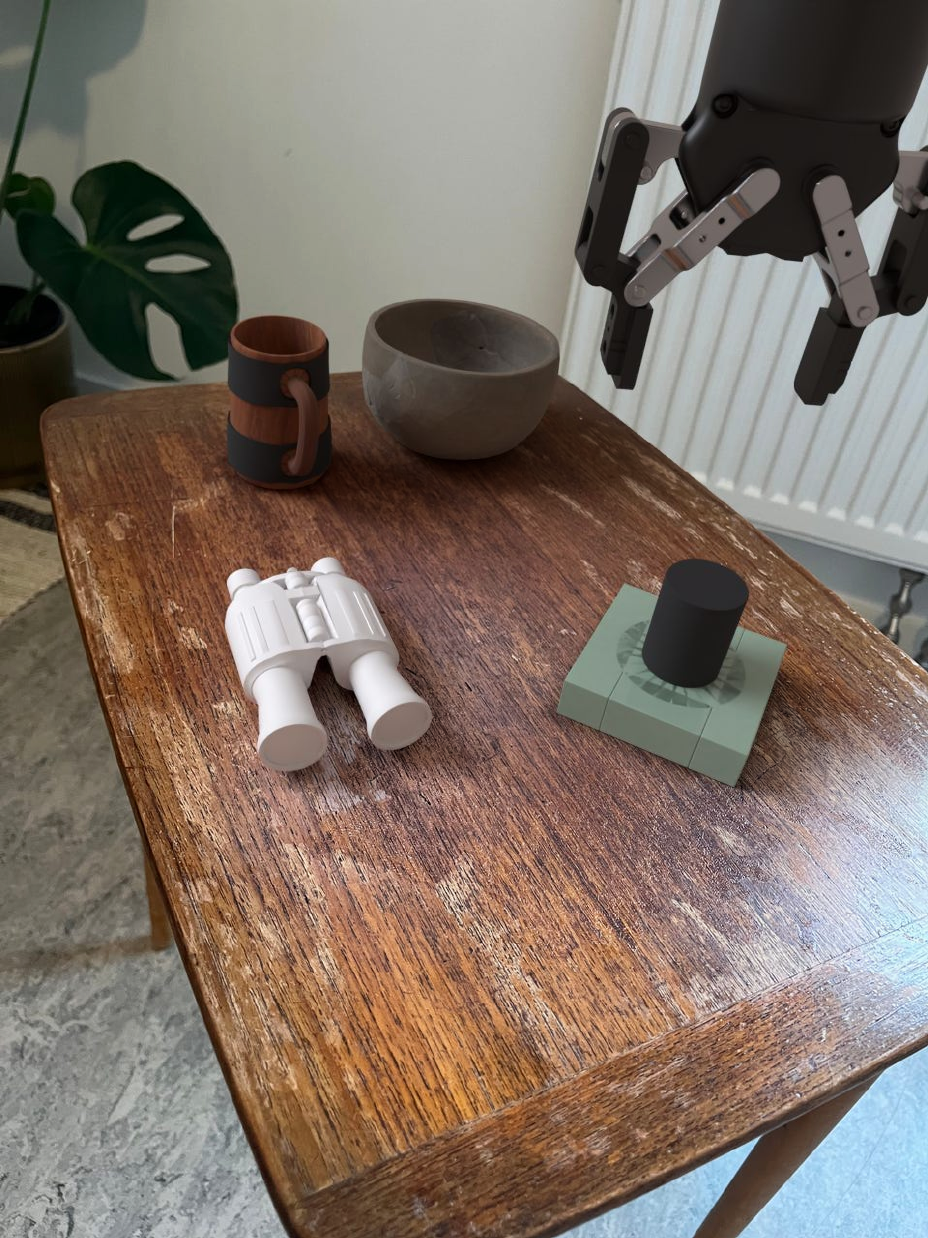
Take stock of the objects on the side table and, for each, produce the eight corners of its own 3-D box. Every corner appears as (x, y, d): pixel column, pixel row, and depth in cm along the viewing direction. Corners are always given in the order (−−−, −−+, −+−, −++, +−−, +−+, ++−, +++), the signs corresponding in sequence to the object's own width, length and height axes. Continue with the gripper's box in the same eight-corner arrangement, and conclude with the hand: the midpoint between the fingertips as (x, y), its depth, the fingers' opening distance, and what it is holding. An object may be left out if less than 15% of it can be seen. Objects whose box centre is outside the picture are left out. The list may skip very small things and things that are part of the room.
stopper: (716, 682, 66) (757, 576, 61) (696, 728, 63) (738, 621, 57) (645, 654, 68) (678, 548, 62) (621, 698, 64) (655, 590, 58)
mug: (258, 523, 75) (254, 386, 67) (215, 447, 83) (208, 316, 75) (361, 505, 78) (368, 373, 71) (310, 433, 86) (312, 307, 79)
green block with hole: (773, 675, 68) (787, 644, 66) (734, 788, 60) (748, 755, 58) (615, 614, 71) (624, 582, 70) (556, 713, 63) (564, 679, 61)
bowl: (470, 376, 99) (482, 280, 92) (583, 459, 89) (605, 357, 82) (321, 408, 90) (324, 305, 84) (428, 504, 80) (440, 394, 73)
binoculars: (260, 783, 56) (258, 727, 53) (210, 610, 67) (206, 556, 64) (430, 747, 59) (437, 693, 56) (356, 589, 70) (359, 536, 67)
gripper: (668, -75, 29) (569, 418, 39) (1107, -14, 30) (901, 444, 40) (621, -92, 34) (546, 341, 45) (992, -40, 36) (837, 366, 46)
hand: (715, 390), depth 42 cm, fingers open, 8 cm apart
